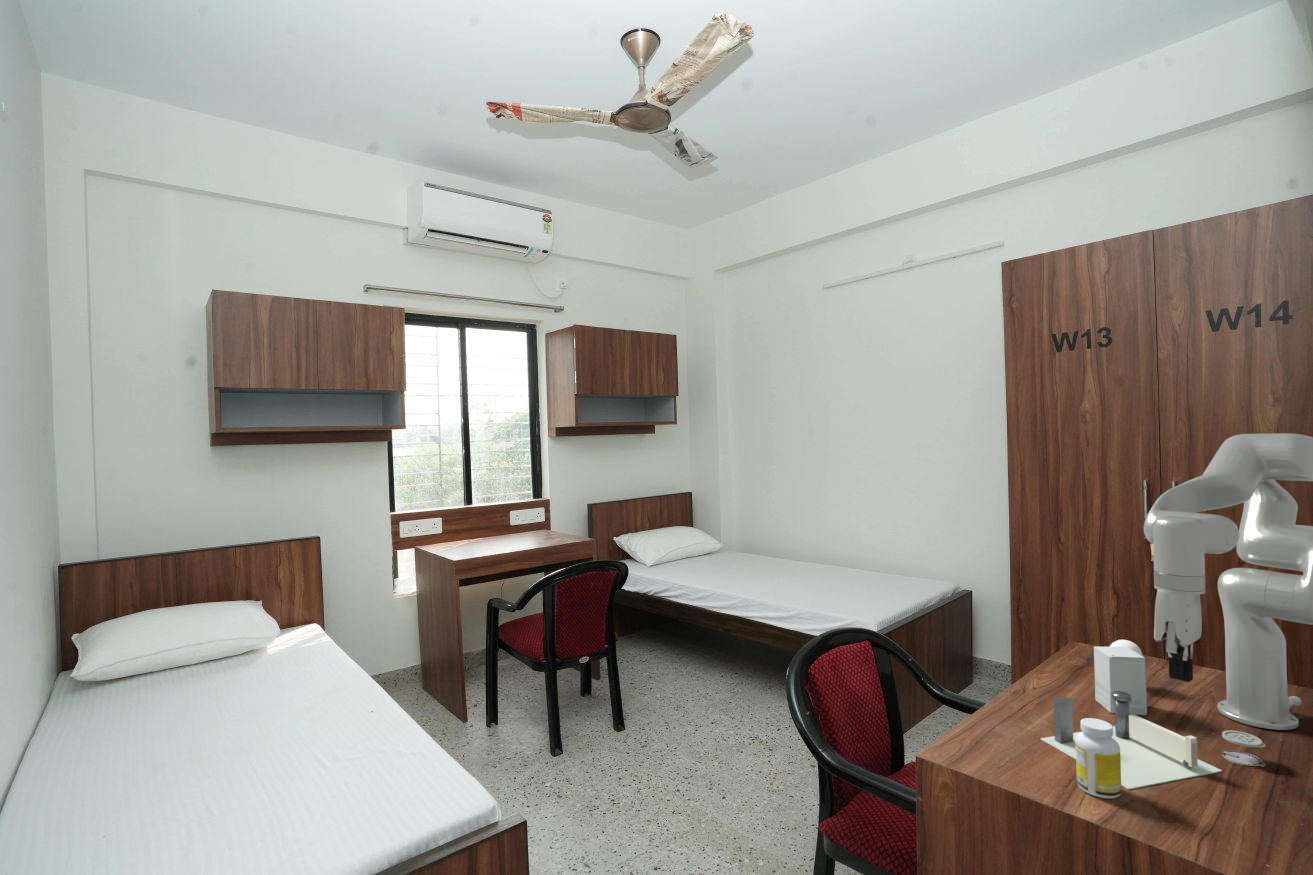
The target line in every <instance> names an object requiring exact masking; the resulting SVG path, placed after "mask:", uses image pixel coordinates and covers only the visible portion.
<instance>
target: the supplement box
mask: <svg viewBox="0 0 1313 875" xmlns="http://www.w3.org/2000/svg"><path fill="white" fill-rule="evenodd" d="M1093 661H1094V663H1093V664H1094V665H1093V666H1094V667H1093V668H1094V696H1095V701H1096V702H1097V703H1098V704H1099V705H1100V706H1102V707H1103V708H1104V709H1106V711H1107V712H1109V713H1110V714H1115V703H1114V698H1112V692H1113V691H1121V692H1126V693H1128V694H1130V695H1131V701H1129V715H1132V714H1134V715H1136V716H1146V715H1148V702H1147V675H1146V657H1145V656H1143V655H1142V656H1141V655H1140V654H1138V653H1136V652H1135V651H1133V650H1132V649H1130V648H1128V647H1110V646H1093Z"/></svg>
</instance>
